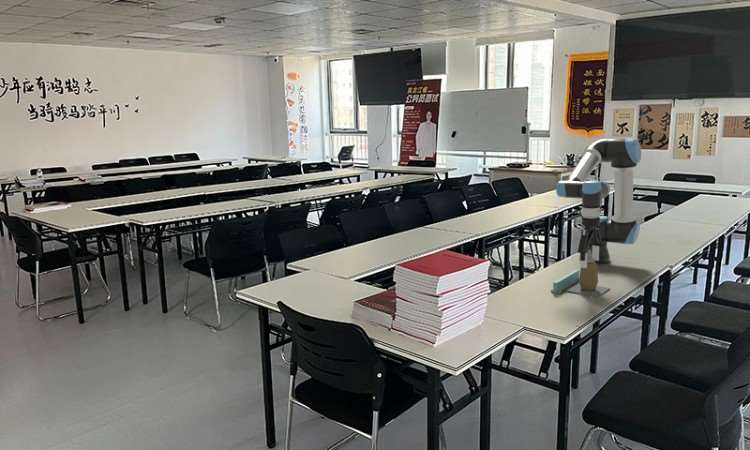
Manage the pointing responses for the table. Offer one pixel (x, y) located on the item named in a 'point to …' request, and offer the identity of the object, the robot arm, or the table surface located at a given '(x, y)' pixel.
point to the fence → (565, 282)
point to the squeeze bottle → (589, 274)
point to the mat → (594, 293)
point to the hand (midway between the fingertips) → (589, 263)
